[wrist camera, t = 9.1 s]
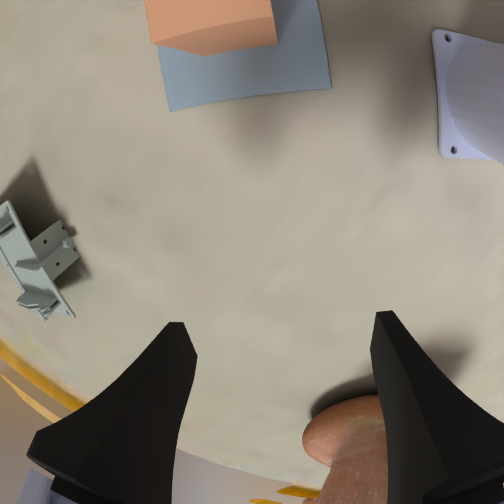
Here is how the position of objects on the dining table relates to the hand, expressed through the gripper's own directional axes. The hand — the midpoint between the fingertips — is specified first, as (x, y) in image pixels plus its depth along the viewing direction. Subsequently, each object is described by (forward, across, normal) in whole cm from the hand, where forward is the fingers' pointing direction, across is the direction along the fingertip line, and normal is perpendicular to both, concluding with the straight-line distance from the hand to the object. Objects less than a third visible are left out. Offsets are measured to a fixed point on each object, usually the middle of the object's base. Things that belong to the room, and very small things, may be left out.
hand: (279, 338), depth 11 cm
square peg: (+9, +1, -13) cm, 16 cm away
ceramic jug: (+10, -8, +25) cm, 28 cm away
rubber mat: (+9, +1, -12) cm, 16 cm away
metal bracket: (+10, +23, 0) cm, 25 cm away
